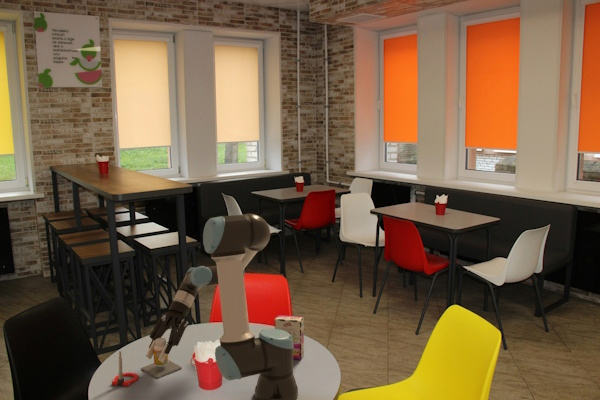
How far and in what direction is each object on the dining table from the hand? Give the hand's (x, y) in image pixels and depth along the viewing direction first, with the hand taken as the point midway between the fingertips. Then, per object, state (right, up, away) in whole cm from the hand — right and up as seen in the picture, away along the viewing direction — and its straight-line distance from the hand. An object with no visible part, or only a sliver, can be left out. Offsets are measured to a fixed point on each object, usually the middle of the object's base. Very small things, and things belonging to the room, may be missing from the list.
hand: (154, 359), depth 206 cm
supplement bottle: (+2, -3, +4) cm, 5 cm away
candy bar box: (+51, -3, +15) cm, 53 cm away
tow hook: (-9, -7, -5) cm, 12 cm away
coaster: (+2, -5, +4) cm, 7 cm away
